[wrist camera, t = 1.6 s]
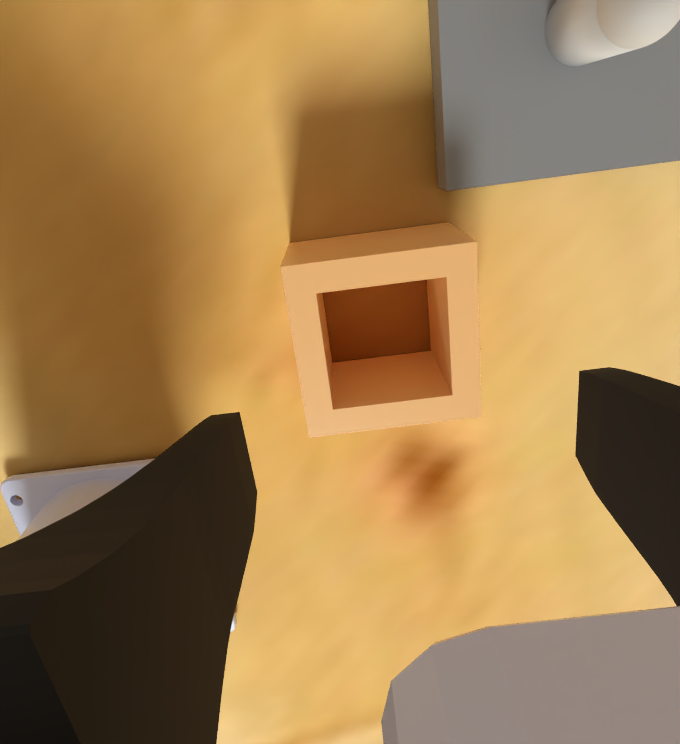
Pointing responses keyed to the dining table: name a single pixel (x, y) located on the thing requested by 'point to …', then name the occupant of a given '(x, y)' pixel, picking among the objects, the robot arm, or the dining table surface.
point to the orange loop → (397, 372)
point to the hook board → (552, 87)
